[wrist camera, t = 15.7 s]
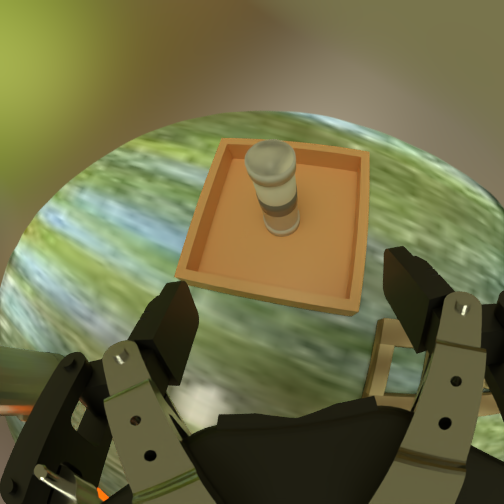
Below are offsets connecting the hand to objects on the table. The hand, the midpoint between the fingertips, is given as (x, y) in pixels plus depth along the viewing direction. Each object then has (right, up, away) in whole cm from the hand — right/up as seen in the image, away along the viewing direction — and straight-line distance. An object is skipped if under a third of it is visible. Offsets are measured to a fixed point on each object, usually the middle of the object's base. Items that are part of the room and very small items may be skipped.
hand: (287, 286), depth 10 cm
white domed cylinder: (+2, +5, +19) cm, 20 cm away
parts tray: (+2, +4, +20) cm, 21 cm away
